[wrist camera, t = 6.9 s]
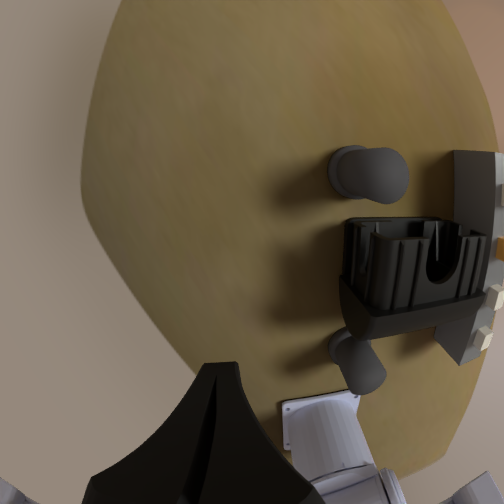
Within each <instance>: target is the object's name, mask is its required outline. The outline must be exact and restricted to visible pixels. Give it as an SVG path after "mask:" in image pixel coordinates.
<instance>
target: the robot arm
mask: <svg viewBox="0 0 504 504" xmlns="http://www.w3.org/2000/svg"><path fill="white" fill-rule="evenodd" d="M360 396H361V395H354V394H352V393H351V392H350V390H346V391H341V392H337V393H332V394H326V395H321V396H315V397H309V398H303V399H297V400H290V401H285V402H283V403H282V419H283V443H284V449H285V450H291V454H292V460H293V466H294V467H293V466H292V465H291V464H290V463H289V462H288V461H287V460H286V458H285V457H284V456H283V455H282V454H281V452H280V451H279V450H278V449H277V448H276V446H275V445H274V444H273V442H272V441H271V440H270V438H269V437H268V435H267V434H266V433H265V431H264V429H263V428H262V426H261V425H260V423H259V421H258V420H257V418H256V416H255V414H254V412H253V410H252V408H251V406H250V404H249V402H248V400H247V398H246V395H245V393H244V390H243V387H242V383H241V377H240V371H239V366H238V363H237V362H235V361H234V362H218V363H204V364H203V365H202V367H201V369H200V371H199V373H198V374H197V376H196V378H195V380H194V381H193V383H192V385H191V386H190V388H189V389H188V391H187V393H186V394H185V395H184V397H183V398H182V400H181V401H180V403H179V404H178V405H177V407H176V408H175V409H174V411H173V412H172V413H171V415H170V416H169V417H168V418H167V419H166V421H165V422H164V423H163V424H162V425H161V426H160V427H159V428H158V429H157V430H156V431H155V433H154V434H152V435H151V436H150V437H149V438H148V439H147V440H146V441H145V442H144V443H143V444H142V445H140V447H138V448H137V449H136V450H134V451H133V452H132V453H130V454H129V455H127V456H126V457H125V458H123V459H122V460H121V461H119V462H117V463H116V464H114V465H113V466H111V467H109V468H107V469H105V470H104V471H102V472H100V473H98V474H96V475H94V476H92V477H91V479H90V481H89V483H88V485H87V489H86V491H85V495H84V498H83V501H82V504H407V503H406V501H405V498H404V495H403V493H402V490H401V488H400V485H399V483H398V480H397V478H396V475H395V473H394V471H393V470H391V469H387V468H383V469H381V470H380V473H381V474H380V473H379V471H378V469H377V467H376V465H375V463H374V460H373V458H372V455H371V453H370V450H369V447H368V445H367V442H366V440H365V437H364V435H363V432H362V430H361V427H360V425H359V422H358V420H357V417H356V412H357V408H358V404H359V400H360ZM381 476H382V477H381ZM382 479H383V480H382ZM0 504H39V503H37V502H35V501H33V500H32V499H30V498H28V497H26V496H25V495H24V494H23V493H22V492H21V491H19V490H18V489H17V488H15V487H14V486H12V485H11V484H9V483H8V482H6V481H5V480H3V479H2V478H0ZM439 504H504V498H503V496H502V494H501V492H500V490H499V489H498V487H497V485H496V483H495V481H494V480H493V478H492V476H491V474H490V473H489V471H485V472H484V473H483V474H481V475H480V476H478V477H477V478H475V479H474V480H472V481H471V482H469V483H468V484H466V485H465V486H463V487H462V488H460V489H459V490H458V491H457V492H455V493H454V494H453V496H452V497H450V498H448V499H446V500H445V501H443V502H441V503H439Z"/></svg>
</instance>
